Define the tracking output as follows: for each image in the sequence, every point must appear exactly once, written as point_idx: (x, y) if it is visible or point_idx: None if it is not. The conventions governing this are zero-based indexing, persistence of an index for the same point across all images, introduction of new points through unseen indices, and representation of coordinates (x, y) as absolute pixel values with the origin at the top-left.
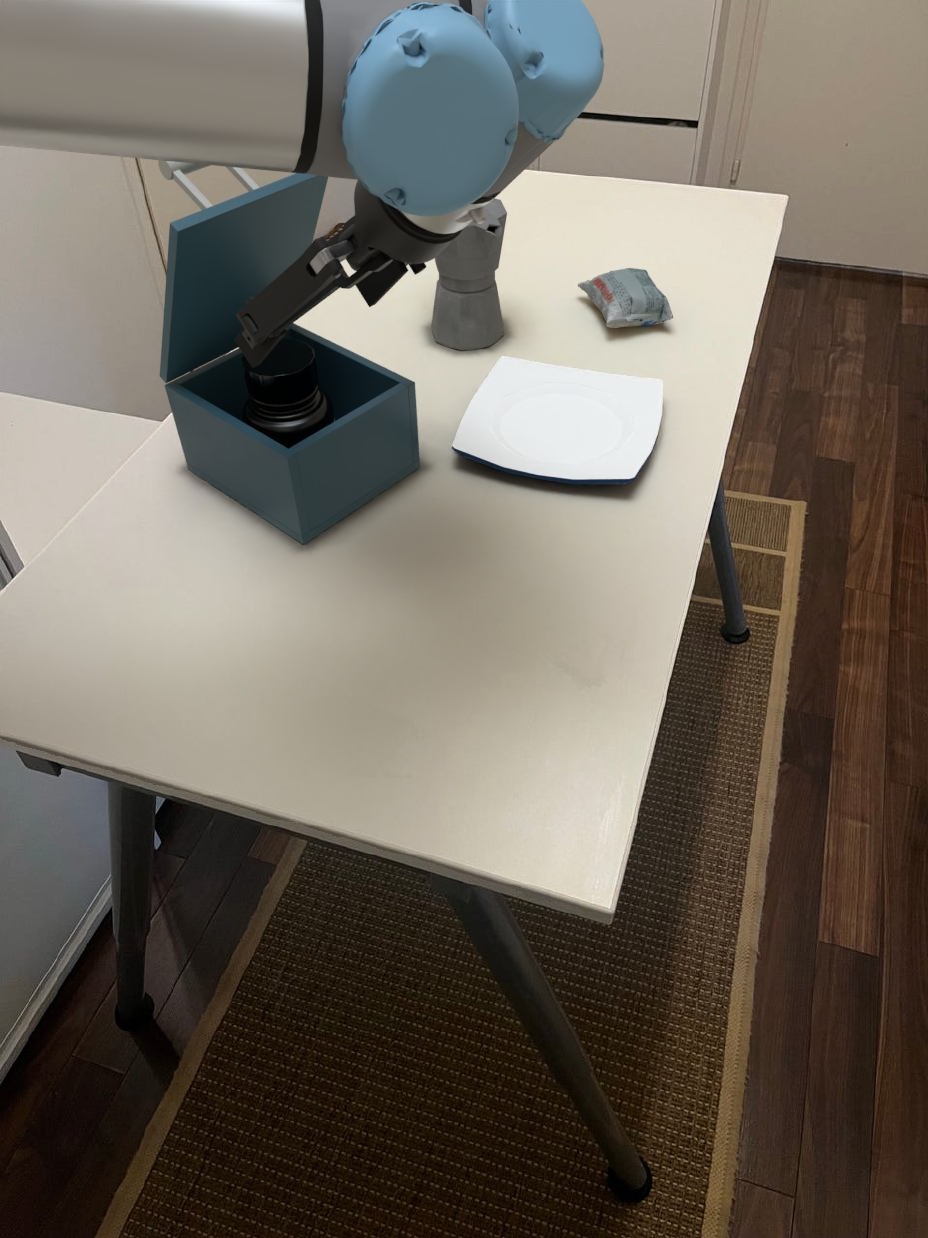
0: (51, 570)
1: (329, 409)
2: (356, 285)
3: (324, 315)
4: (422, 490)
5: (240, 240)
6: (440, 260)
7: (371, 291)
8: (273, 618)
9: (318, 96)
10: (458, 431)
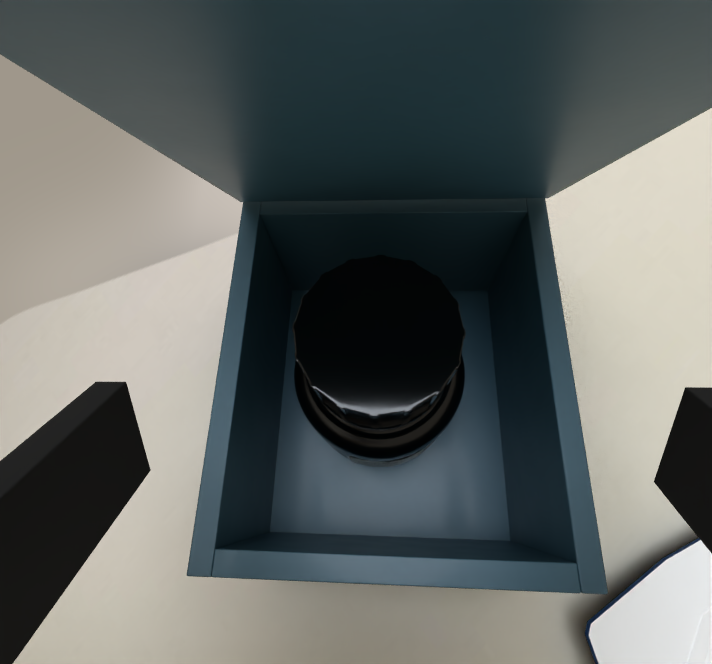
0: (52, 319)
1: (427, 440)
2: (681, 409)
3: (668, 140)
4: (482, 612)
5: (334, 19)
6: None
7: (706, 504)
8: (107, 644)
9: None
10: (635, 589)
